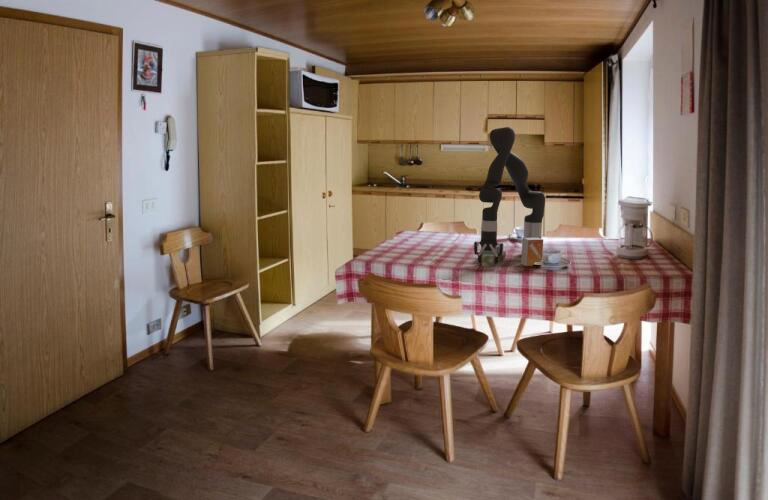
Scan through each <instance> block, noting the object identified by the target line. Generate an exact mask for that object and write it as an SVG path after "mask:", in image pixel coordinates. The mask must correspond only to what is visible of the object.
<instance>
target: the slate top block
mask: <svg viewBox="0 0 768 500" xmlns="http://www.w3.org/2000/svg"><path fill="white" fill-rule="evenodd" d="M503 246H504V243H503ZM481 249H482V247H481V246H480V250H481ZM495 249H496V250H497V253H499V251H500V248H499V247H498V245H497V246H496V247H495ZM502 253H503V252H502ZM482 254H489V255H495V254H494V253H493V251H485V250H484V251H483V252H482Z"/></svg>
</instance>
